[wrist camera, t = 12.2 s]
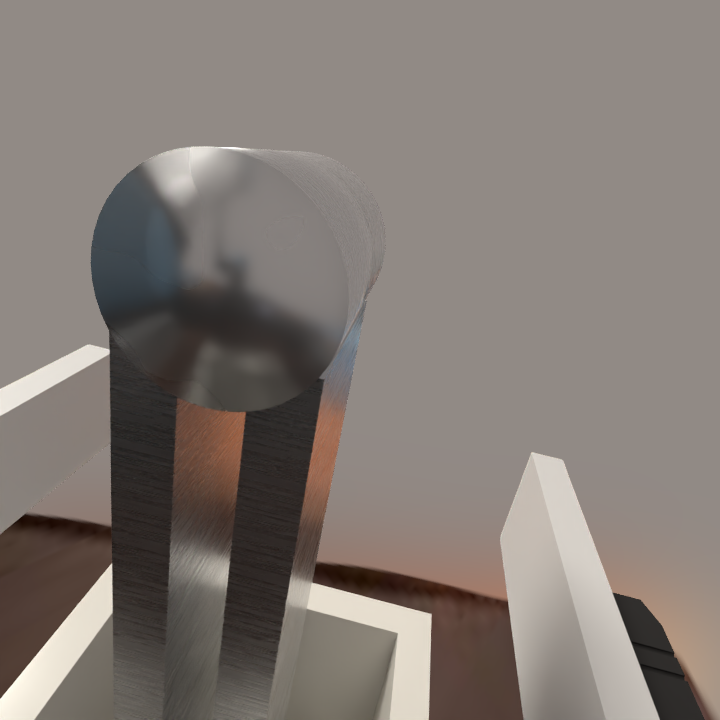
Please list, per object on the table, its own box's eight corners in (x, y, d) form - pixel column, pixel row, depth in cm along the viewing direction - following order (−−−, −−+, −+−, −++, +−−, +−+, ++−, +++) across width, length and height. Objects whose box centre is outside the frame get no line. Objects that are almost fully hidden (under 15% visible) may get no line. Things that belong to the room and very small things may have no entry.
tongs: (108, 944, 12) (86, 120, 5) (198, 733, 17) (252, 138, 10) (226, 982, 12) (372, 177, 5) (285, 758, 17) (406, 170, 10)
